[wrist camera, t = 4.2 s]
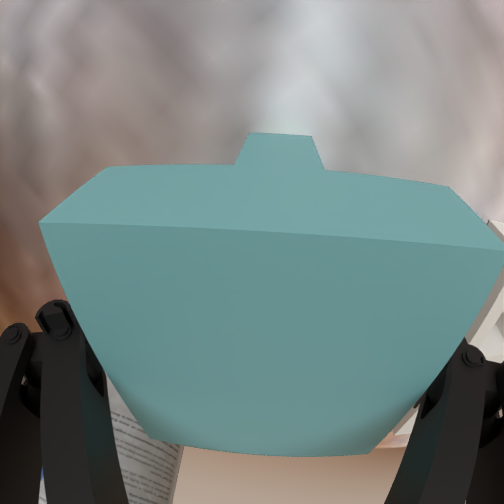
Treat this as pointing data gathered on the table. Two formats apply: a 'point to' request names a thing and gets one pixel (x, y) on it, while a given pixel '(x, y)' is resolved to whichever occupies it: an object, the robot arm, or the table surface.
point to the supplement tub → (139, 458)
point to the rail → (478, 330)
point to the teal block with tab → (270, 295)
